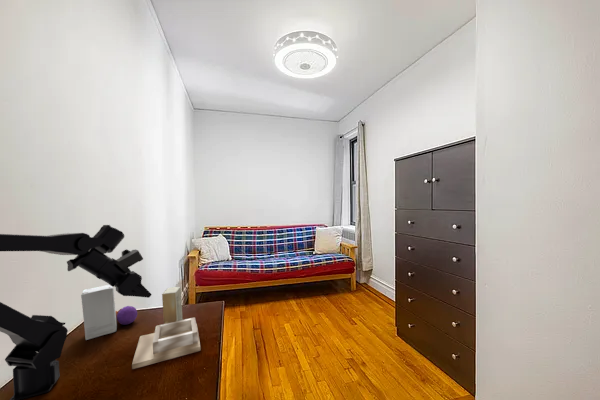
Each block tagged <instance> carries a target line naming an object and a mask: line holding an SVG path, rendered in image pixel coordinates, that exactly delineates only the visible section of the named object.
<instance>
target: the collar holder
mask: <svg viewBox="0 0 600 400" xmlns="http://www.w3.org/2000/svg"><path fill="white" fill-rule="evenodd" d="M199 335H200V334H199V329H198V324H197V321H196V317H190V318H185V319H182V320H180V321H176V322H171V323H167V324H164V323H162V324H159V325H158V324H157V325H155V330H154V332H153V333H149V334H147V333H146V334H144V335H140V336H139V339H138V343H137V345H136V350H135V353H134V356H133V359H132V364H131V370H135V369H139V368H143V367H146V366H149V365H153V364H156V363H160V362H164V361H165V362H166V361H168V360H172V359H176V358H179V357H183V356H186V355H191V354H193V353H197V352H200V351H201V349H202V348H201V342H200V336H199Z"/></svg>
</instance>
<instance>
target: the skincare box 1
mask: <svg viewBox="0 0 600 400" xmlns="http://www.w3.org/2000/svg"><path fill="white" fill-rule="evenodd" d="M80 297H81V299H80V300H81V305H82V317H83V326H84V336H85V337H84V338H85V341H87V340H91V339H94V338H95V339H96V338H98V337H101V336H104V335H108V334H112V333H113V334H114V333H115V332H117V328H118V320H117V318H116V311H117V310H116V303H115V302H116V301H115V290H114V287H112V286H111V285H109V284H105V285H100V286H97V287H91V288H86V289H83V291H82V293H81V295H80Z"/></svg>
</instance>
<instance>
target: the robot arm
mask: <svg viewBox="0 0 600 400" xmlns="http://www.w3.org/2000/svg"><path fill="white" fill-rule="evenodd" d="M124 238H125V234H124V233H123V231H122V230H119V229H117V228H115V227H112V226H111V225H110V224H103V225H102V226H101V227H100V229H99V230H98V231H97V232H96V233H95V234H94V235H93V236H90V234H88V233H87V232H73V233H72V232H71V233H69V232H67V233H66V232H65V233H58V234H57V233H56V234H50V235H49V234H48V235H32V234H8V233H7V234H5V233H0V252H44V253H46V254H52V255H53V254H54V255H58V256H59V255H60V256H75V257H74V258H72V259H69V260H67V261H66V264H67V272H72V271H73V270H75V269H77V267H78V268H81V269H82V270H84V271H86V272H87V273H90V275H93V276H94V277H96V278H97V279H99V280H100V281H101V280H102V281H103V282H105V283H106V284H107V285H111V286H112V287H113V288H115V291H116V292H117V293H118V294H120V295H122V296H123V297H138V298H139V297H140V298H150V297H151V296H152V293H151V292H150V291H149V290H148V289H147V287H145V286H144V285H143V284H142V279H143V278H142V275H140V274H138V273H137V272H136V271H133V270H132V271H131V268H130V267H132V266H133V265H136V264H137V263H139V262H142V261H143V260H144V257H143V256H142V255H141V253H140V251H139V250H138V249H132V250H130V249H126V248H125V249H124V250H122V251H121V256H120V257H119V258H117V259H115V258H112V257H110V256H108V255H107V254H110V253H113V252H114V250H115V249H116V248H117V246H119V244H120V243H121V242H122V241H123V239H124ZM64 325H66V322H62V321H59V320H58V319H57V318H55V317H54V316H52V315H41V314H39V315H38V314H32V315H31V317H30V316H29V315H26V314H25V313H22V312H20V311H19V310H16V309H15V308H13V307H11V306H9V305H7V304H5V303H3V302H1V301H0V333H3V334H5V335H7V336H8V337H9V339H10V340H11V341H12V343H13V344H14V345H15V346H14V347H13V348H12V350H11V351H10V352H9V353H8V355H7V356H6V357H5V358H4V361H5V363H6V364H7V365H8V367H14V368H12V380H13V382H12V383H13V395H12V396H11V398H9V400H20V399H21V400H24V398H25V399H29V398H32V397H35V396H39V395H41V394H46V393H49V392H50V390H52V389H53V386H54V385H55V384H56V383H57V381H58V380H59V379H60V376H61V374H60V361H59V360H58V359H60V358H61V355H62V352H63V348H64V346H65V343H66V340H67V337H68V331H69V330H68V328H67V327H66V326H64Z"/></svg>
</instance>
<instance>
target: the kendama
mask: <svg viewBox="0 0 600 400" xmlns="http://www.w3.org/2000/svg"><path fill="white" fill-rule="evenodd" d="M137 317H138V310H137V308H136V307H134V306H131V305H127V306H124V307H122V308H120V309H119V310H116V320H117V323H119V324H121V325H129V324H131V323H133V322H135V321H136V318H137Z"/></svg>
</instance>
